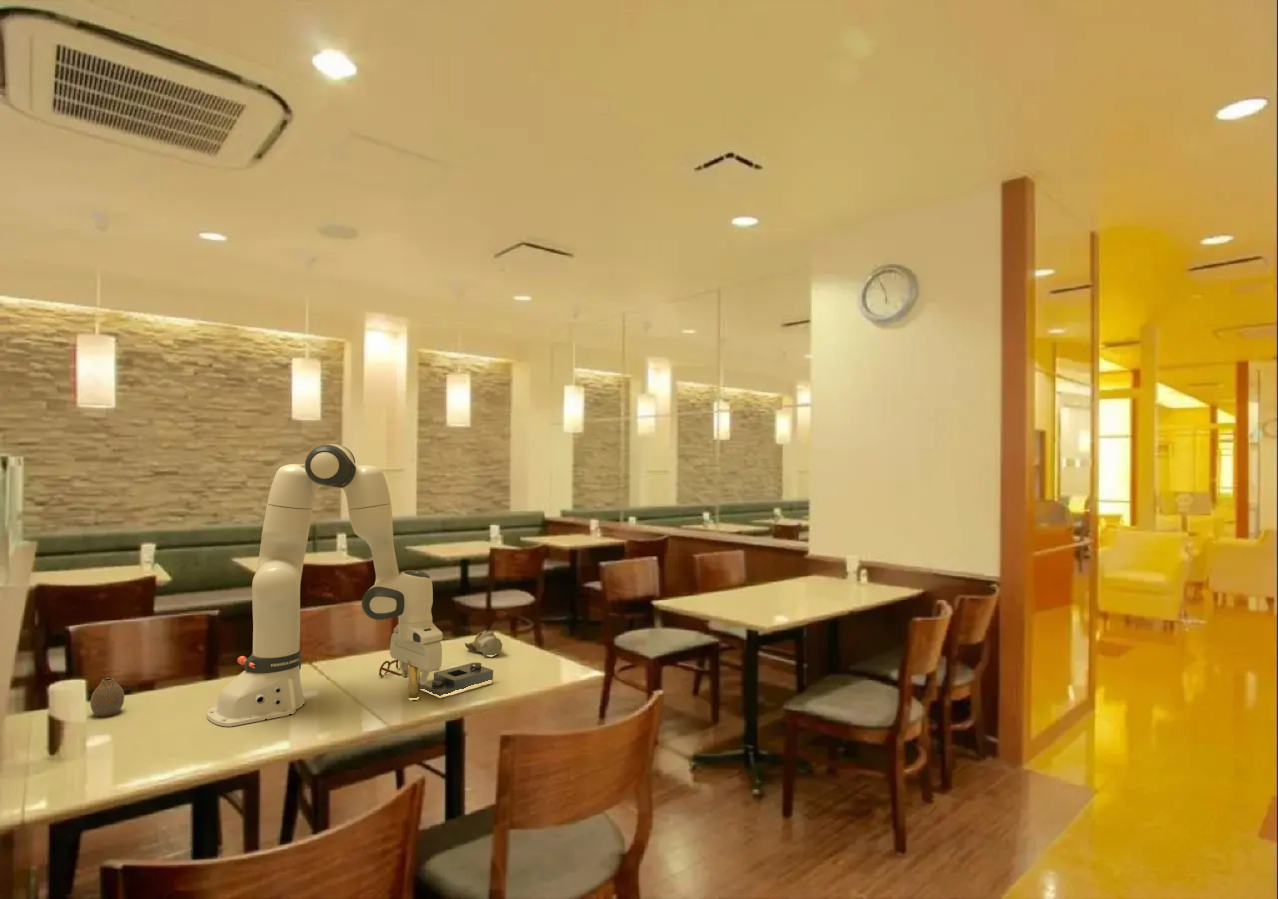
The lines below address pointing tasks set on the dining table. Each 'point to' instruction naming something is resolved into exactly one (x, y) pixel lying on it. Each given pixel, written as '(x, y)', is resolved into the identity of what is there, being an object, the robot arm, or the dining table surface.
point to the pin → (413, 681)
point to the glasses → (389, 667)
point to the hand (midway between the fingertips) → (414, 680)
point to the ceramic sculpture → (486, 643)
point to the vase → (107, 698)
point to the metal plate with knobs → (457, 678)
